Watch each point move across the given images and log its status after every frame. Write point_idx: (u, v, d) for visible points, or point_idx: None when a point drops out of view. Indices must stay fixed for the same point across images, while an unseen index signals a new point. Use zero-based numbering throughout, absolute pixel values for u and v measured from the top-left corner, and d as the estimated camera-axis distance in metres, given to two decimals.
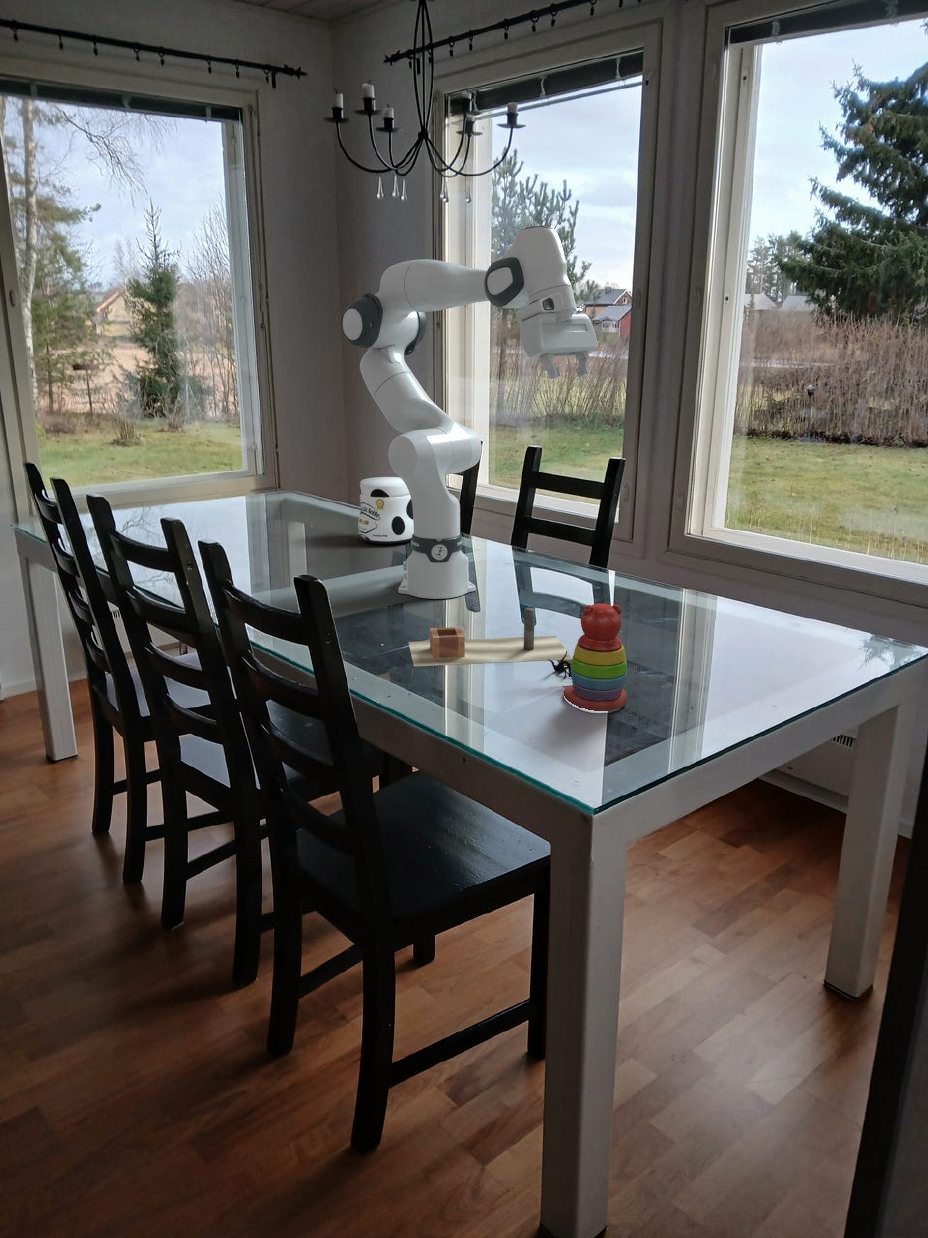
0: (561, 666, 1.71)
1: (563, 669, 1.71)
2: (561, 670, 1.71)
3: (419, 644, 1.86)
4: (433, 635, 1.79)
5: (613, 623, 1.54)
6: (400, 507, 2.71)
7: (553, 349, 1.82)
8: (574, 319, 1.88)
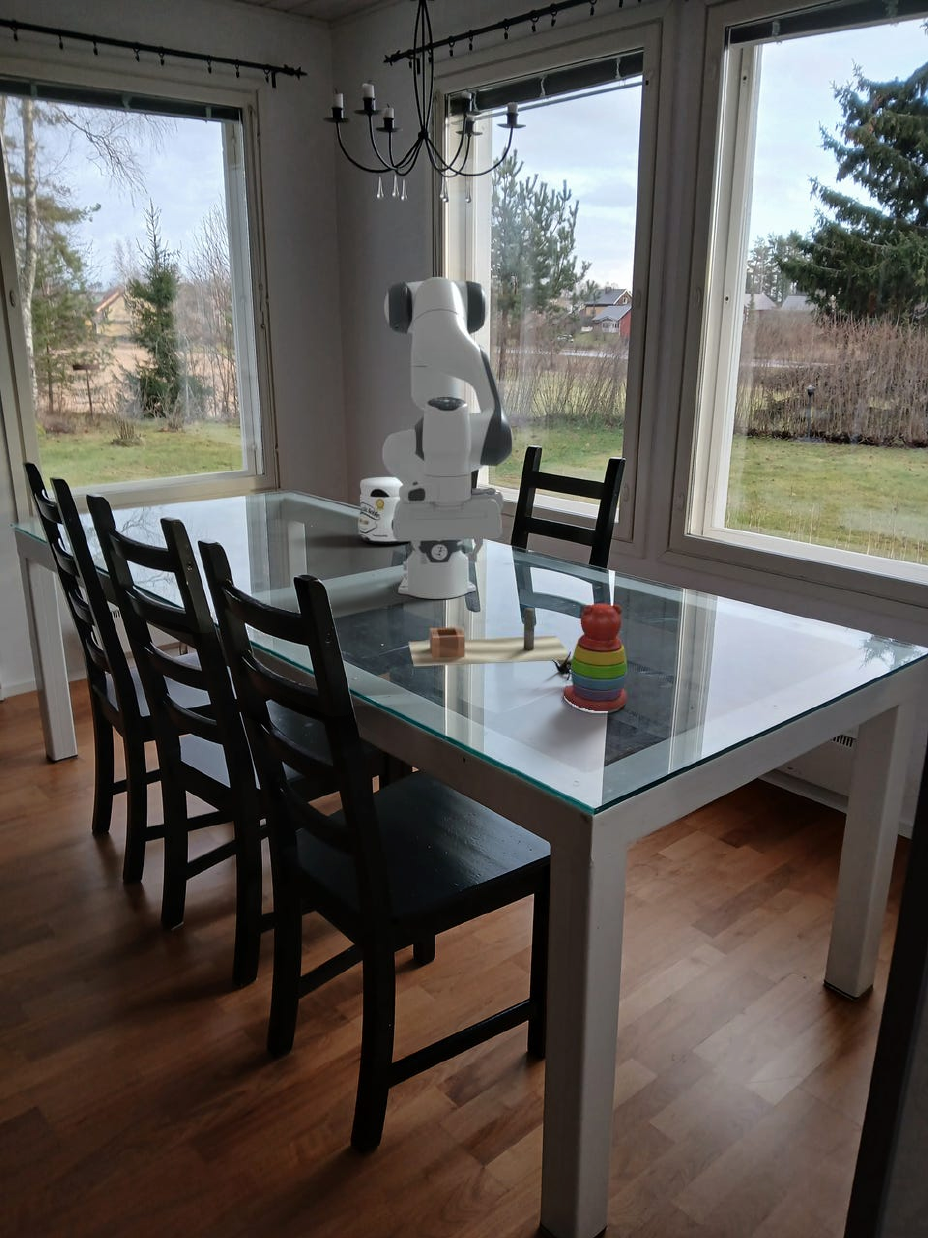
0: (565, 667, 1.71)
1: (567, 670, 1.71)
2: (565, 671, 1.71)
3: (419, 644, 1.86)
4: (433, 635, 1.79)
5: (613, 623, 1.54)
6: None
7: (418, 538, 1.72)
8: (467, 506, 1.72)
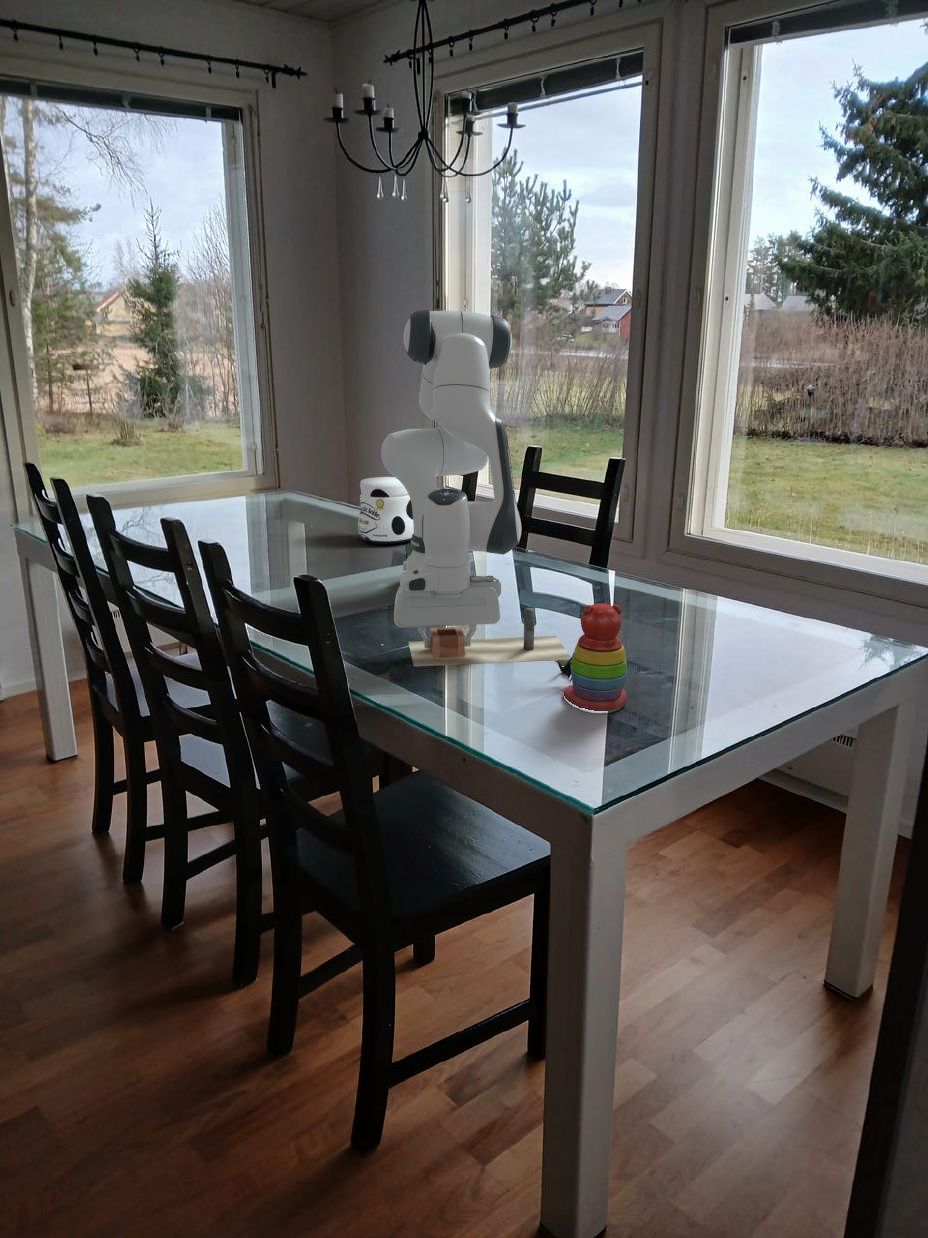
0: (568, 667, 1.70)
1: (570, 670, 1.71)
2: (568, 671, 1.70)
3: (419, 644, 1.86)
4: (433, 635, 1.79)
5: (613, 623, 1.54)
6: (400, 507, 2.71)
7: (419, 625, 1.77)
8: (466, 593, 1.77)
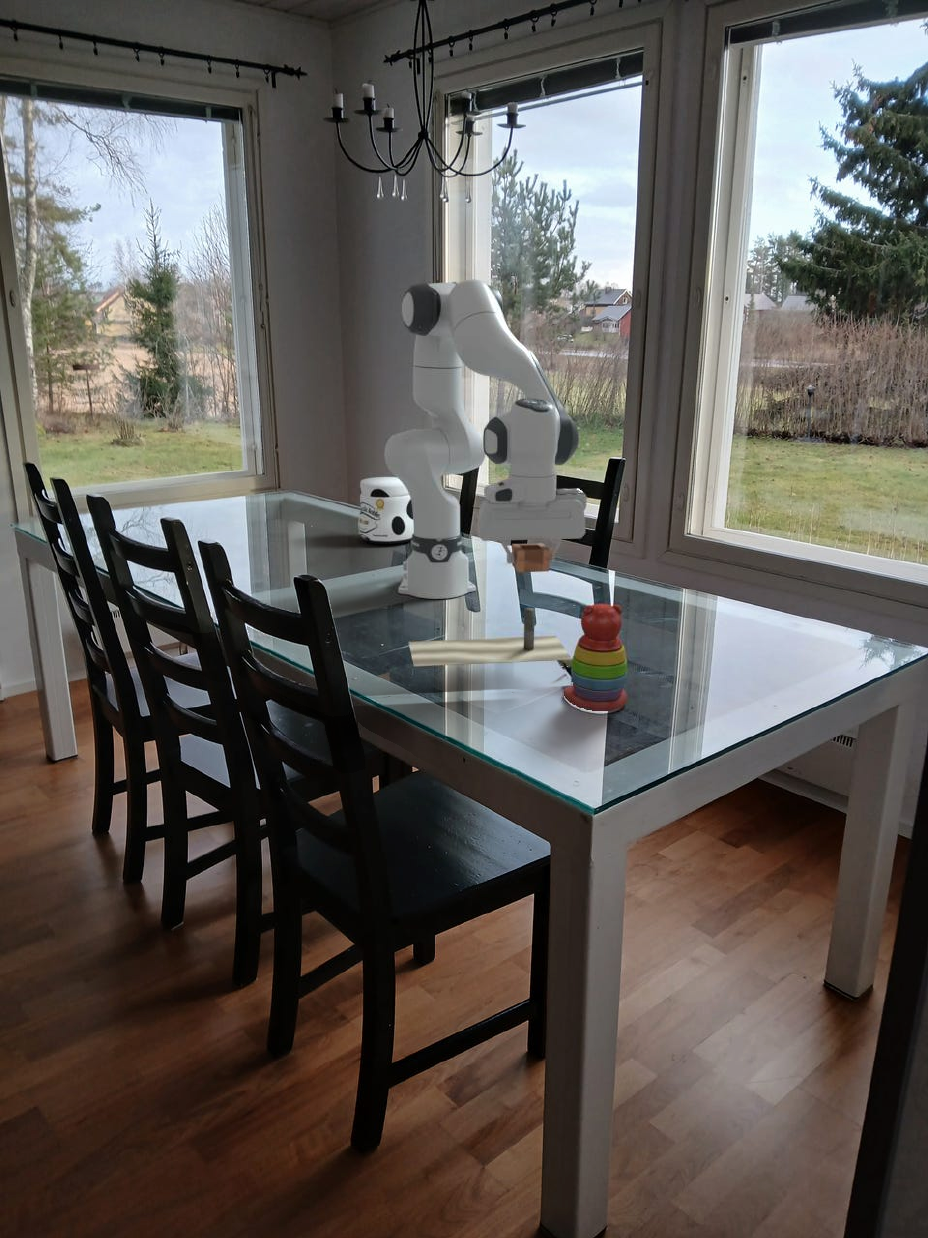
0: None
1: None
2: None
3: (419, 644, 1.86)
4: (517, 549, 1.76)
5: (613, 623, 1.54)
6: (400, 507, 2.71)
7: (503, 538, 1.75)
8: (552, 506, 1.74)
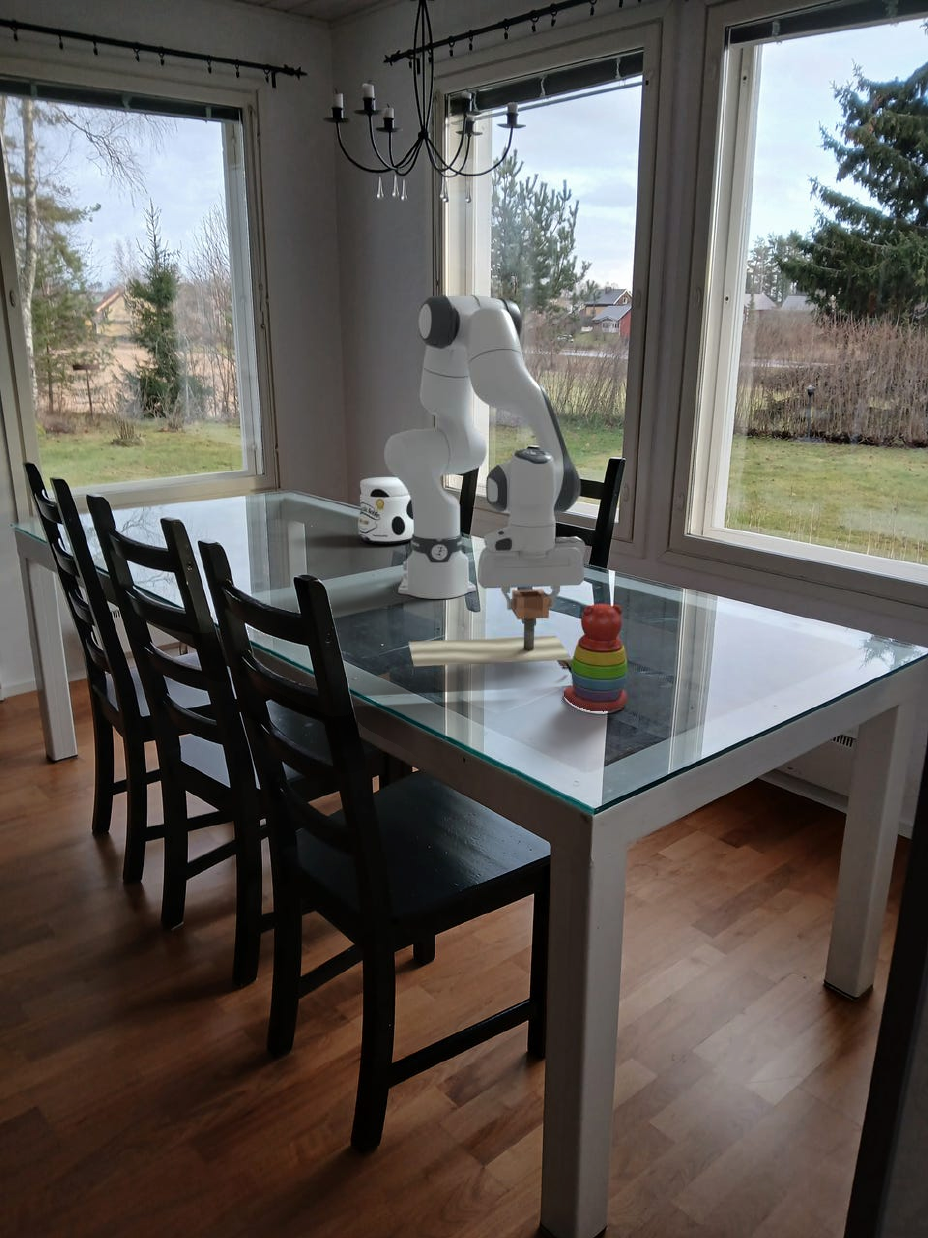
0: None
1: None
2: None
3: (419, 644, 1.86)
4: (517, 596, 1.78)
5: (614, 623, 1.54)
6: (400, 507, 2.71)
7: (503, 586, 1.77)
8: (551, 554, 1.77)
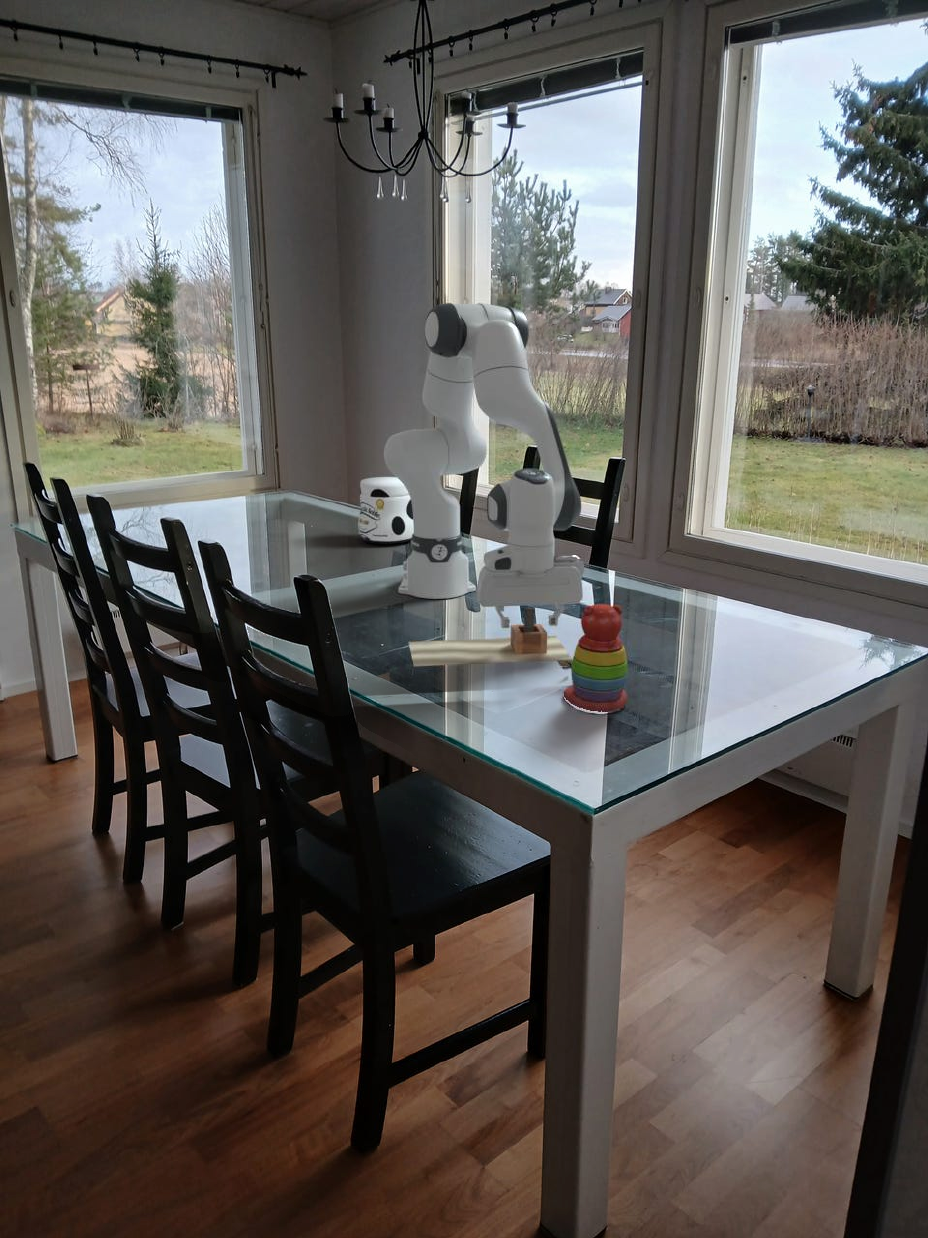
0: None
1: None
2: None
3: (419, 644, 1.86)
4: (516, 632, 1.81)
5: (614, 623, 1.53)
6: (400, 507, 2.71)
7: (503, 604, 1.78)
8: (550, 573, 1.78)
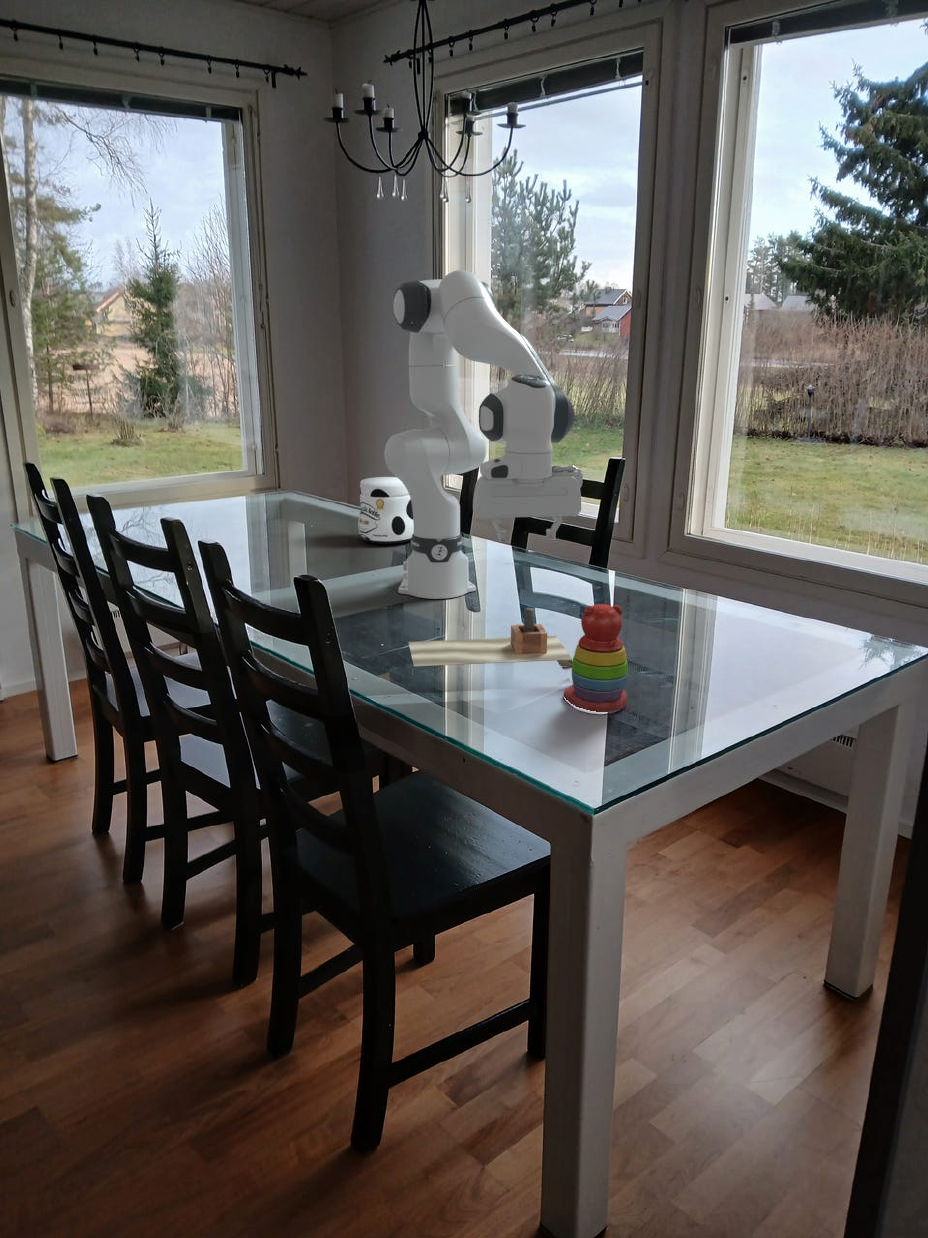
0: None
1: None
2: None
3: (419, 644, 1.86)
4: (516, 632, 1.81)
5: (614, 623, 1.53)
6: (400, 507, 2.71)
7: (499, 515, 1.74)
8: (548, 483, 1.73)
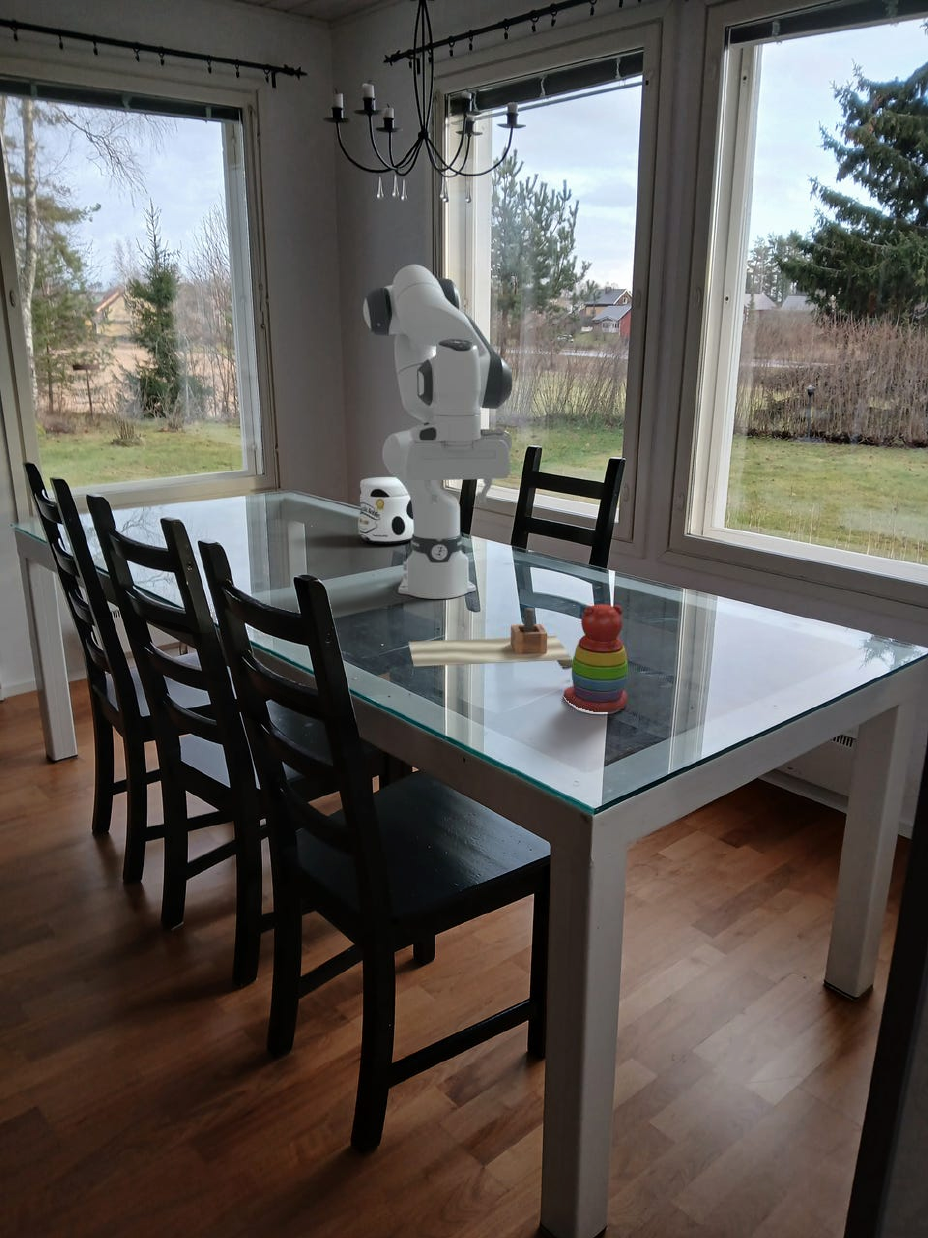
0: None
1: None
2: None
3: (419, 644, 1.86)
4: (516, 632, 1.81)
5: (614, 624, 1.53)
6: (400, 507, 2.71)
7: (429, 477, 1.77)
8: (476, 446, 1.77)
